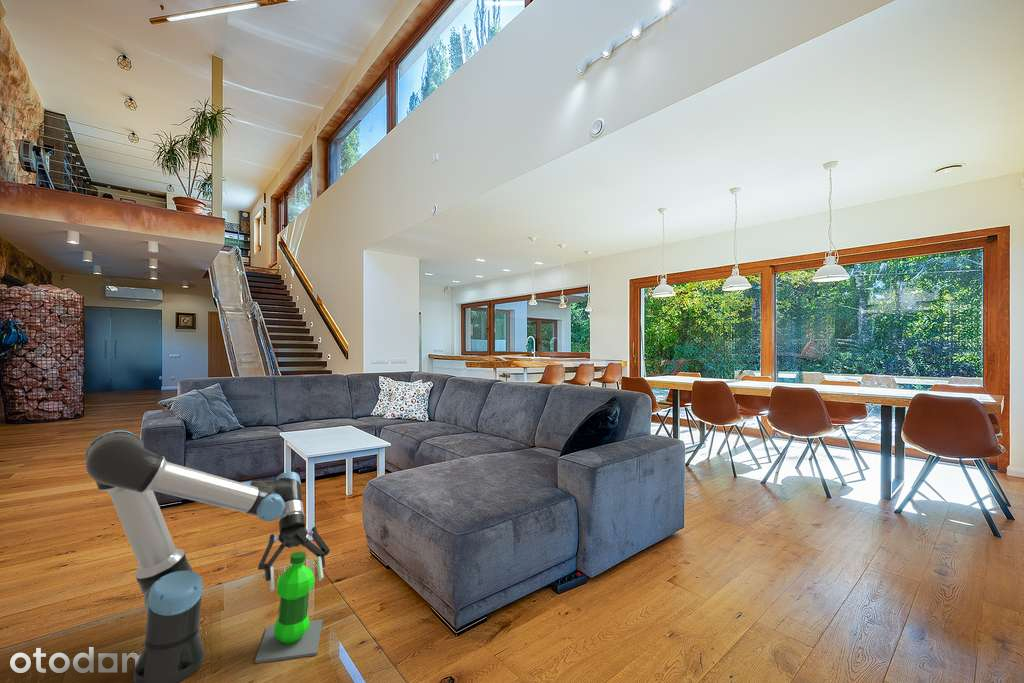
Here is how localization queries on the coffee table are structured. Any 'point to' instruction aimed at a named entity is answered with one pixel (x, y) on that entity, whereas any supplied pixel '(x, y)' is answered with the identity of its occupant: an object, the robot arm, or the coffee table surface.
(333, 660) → the coffee table surface
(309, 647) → the rubber coaster
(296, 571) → the plastic bottle
